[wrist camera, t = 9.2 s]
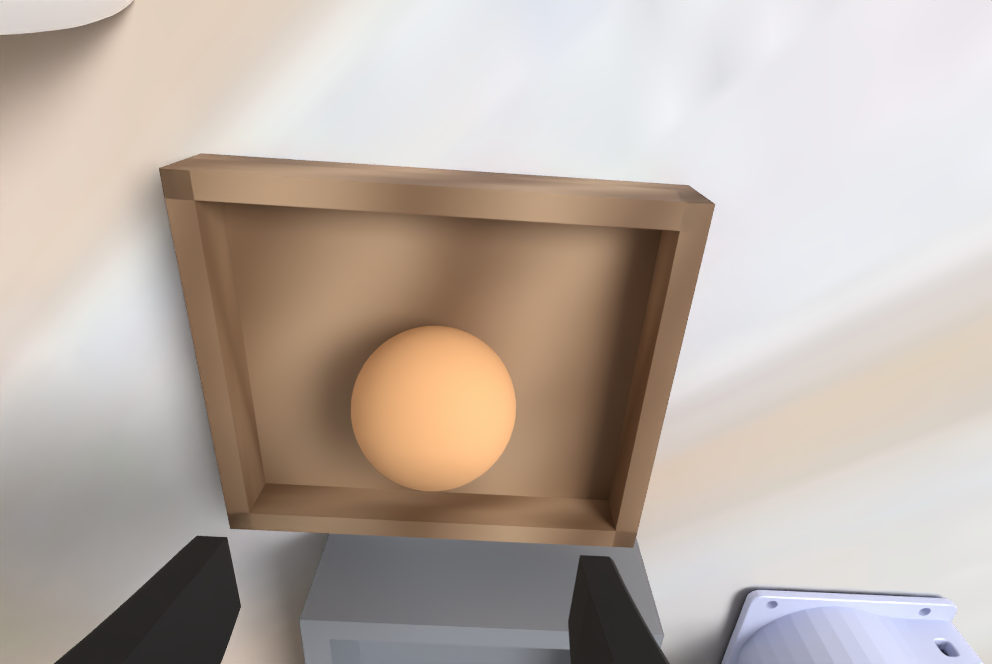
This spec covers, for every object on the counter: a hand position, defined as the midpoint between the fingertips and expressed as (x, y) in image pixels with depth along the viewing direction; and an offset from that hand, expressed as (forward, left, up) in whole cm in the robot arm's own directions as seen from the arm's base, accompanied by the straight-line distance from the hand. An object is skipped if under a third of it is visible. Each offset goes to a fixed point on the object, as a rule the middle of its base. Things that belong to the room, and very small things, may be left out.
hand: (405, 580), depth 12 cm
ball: (0, 0, -6) cm, 6 cm away
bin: (-2, +15, -10) cm, 18 cm away
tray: (0, 0, -10) cm, 10 cm away
